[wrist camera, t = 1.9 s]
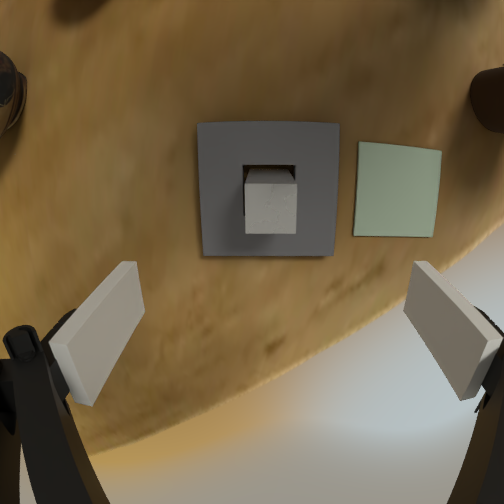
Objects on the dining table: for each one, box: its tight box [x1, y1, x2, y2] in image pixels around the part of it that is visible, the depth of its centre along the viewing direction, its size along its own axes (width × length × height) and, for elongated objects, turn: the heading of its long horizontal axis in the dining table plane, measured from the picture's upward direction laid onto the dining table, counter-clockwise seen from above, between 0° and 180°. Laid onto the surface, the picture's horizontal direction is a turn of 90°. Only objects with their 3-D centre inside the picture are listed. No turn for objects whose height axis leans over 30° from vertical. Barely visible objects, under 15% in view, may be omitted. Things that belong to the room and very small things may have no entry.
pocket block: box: [197, 121, 340, 256], centre depth 38 cm, size 16×16×2 cm
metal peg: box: [245, 169, 297, 234], centre depth 33 cm, size 4×4×12 cm
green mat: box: [353, 142, 442, 237], centre depth 38 cm, size 12×12×1 cm
